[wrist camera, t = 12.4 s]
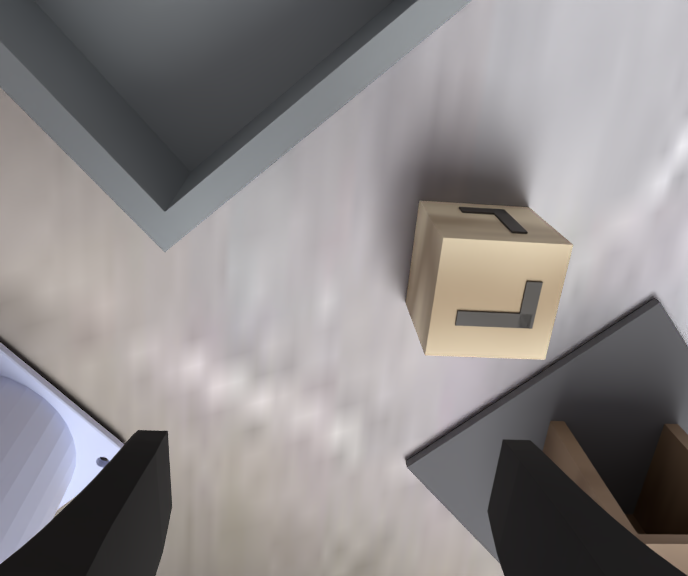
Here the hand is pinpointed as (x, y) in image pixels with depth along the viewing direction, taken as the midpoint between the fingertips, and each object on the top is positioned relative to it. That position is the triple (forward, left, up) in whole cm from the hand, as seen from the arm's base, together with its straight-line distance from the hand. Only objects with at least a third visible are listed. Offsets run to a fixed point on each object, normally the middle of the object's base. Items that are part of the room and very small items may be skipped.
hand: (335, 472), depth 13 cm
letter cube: (+5, -3, -11) cm, 12 cm away
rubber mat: (+4, -15, -10) cm, 18 cm away
